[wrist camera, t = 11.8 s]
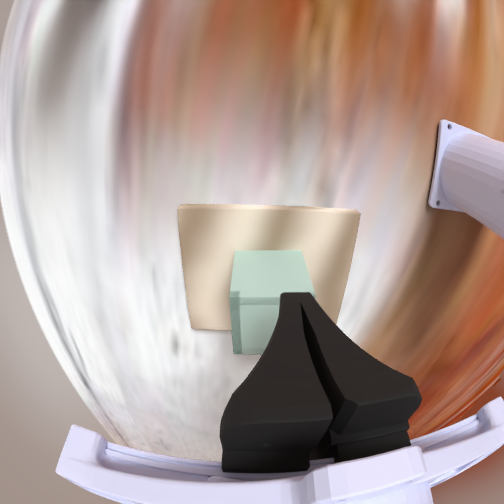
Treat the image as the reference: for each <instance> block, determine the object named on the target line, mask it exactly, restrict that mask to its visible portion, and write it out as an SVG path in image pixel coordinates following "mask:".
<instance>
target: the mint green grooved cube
mask: <svg viewBox="0 0 504 504" xmlns="http://www.w3.org/2000/svg"><path fill="white" fill-rule="evenodd" d="M283 292H310V293H311V294H312V296H313V297H314V298H315V299H316V295H315V291H314V288H313V285H312V282H311V279H310V275H309V272H308V269H307V266H306V263H305V260H304V257H303V254H302V251H301V250H247V251H235V254H234V262H233V270H232V278H231V286H230V295H229V301H230V315H231V328H232V341H233V353H234V354H263V352H264V351H265V349H266V347H267V345H268V343H269V341H270V338H271V336H272V334H273V331H274V328H275V326H276V323H277V319H278V316H279V305H280V294H281V293H283Z"/></svg>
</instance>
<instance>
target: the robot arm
mask: <svg viewBox="0 0 504 504" xmlns="http://www.w3.org/2000/svg"><path fill="white" fill-rule="evenodd" d="M448 125H449V129H448ZM437 201H438V204H436V203H437ZM428 204H429V206H431V207H432V208H438V209H445V210H452V211H459V212H465V213H467V214H468V215H470V216H471V217H473V218H474V219H476V220H477V221H479V222H480V223H482V224H483V225H485V226H486V227H488V228H489V229H490V230H492V231H493V232H495V233H496V234H497V235H499V236H500V237H501V238H503V239H504V142H500V141H497V140H493V139H491V138H489V137H487V136H484V135H482V134H480V133H478V132H475V131H473V130H471V129H468V128H466V127H463V126H461V125H458V124H455V123H453V122H450V121H447V120H441V121H440V123H439V133H438V143H437V151H436V159H435V166H434V173H433V179H432V185H431V190H430V195H429V200H428ZM421 401H422V397H421V395H420V392H419V390H418V387H417V385H416V383H415V381H414V380H413V378H411V377H409V376H407V375H404V374H402V373H400V372H398V371H396V370H394V369H392V368H390V367H388V366H387V365H385V364H383V363H382V362H380V361H378V360H377V359H375V358H374V357H372V356H371V355H370V354H368V353H367V352H365V351H364V350H363V349H361V348H360V347H359V346H358V345H356V344H355V343H354V342H353V341H352V340H351V339H349V338H348V337H347V336H346V335H345V334H344V333H343V332H342V331H341V330H340V329H339V328H338V326H337V325H336V324H335V323H334V322H333V321H332V320H331V318H330V317H329V316H328V315H327V314H326V313H325V311H324V310H323V309H322V307H321V306H320V305H319V304H318V302H317V301H316V300H315V298H314V297H313V296H312V294H311V293H310V292H283V293H281V294H280V305H279V316H278V319H277V323H276V326H275V328H274V331H273V334H272V336H271V338H270V341H269V343H268V345H267V347H266V349H265V351H264V352H263V354H262V356H261V358H260V359H259V361H258V362H257V364H256V366H255V367H254V368H253V370H252V371H251V372H250V374H249V375H248V377H247V378H246V379H245V380H244V382H243V383H242V384H241V385H240V386H239V387H238V388H237V389H236V390H235V392H234V393H233V394H232V396H231V398H230V400H229V402H228V404H227V406H226V408H225V411H224V413H223V416H222V419H221V424H220V440H221V444H222V448H223V453H222V462H215V461H204V460H194V459H186V458H179V457H173V456H167V455H161V454H156V453H151V452H146V451H142V450H137V449H133V448H129V447H125V446H121V445H118V444H114V443H110V442H107V440H106V439H105V438H104V437H103V436H102V435H101V434H99V433H97V432H95V431H92V430H89V429H86V428H83V427H81V426H78V425H75V424H73V425H72V426H71V428H70V432H69V434H68V436H67V439H66V442H65V444H64V447H63V450H62V453H61V456H60V459H59V461H58V464H57V467H56V473H57V474H59V475H60V476H62V477H64V478H65V479H67V480H69V481H71V482H72V483H74V484H76V485H78V486H80V487H81V488H83V489H85V490H87V491H90V492H92V493H95V494H97V495H100V496H103V497H105V498H108V499H111V500H114V501H117V502H120V503H123V504H433V499H432V495H431V491H430V488H431V487H433V486H435V485H438V484H440V483H442V482H444V481H446V480H448V479H450V478H451V477H453V476H455V475H457V474H459V473H461V472H462V471H464V470H466V469H468V468H469V467H471V466H473V465H474V464H476V463H478V462H480V461H481V460H483V459H484V458H486V457H487V456H489V455H490V454H492V453H493V452H494V451H495V450H497V449H498V448H499V447H501V446H502V445H503V444H504V401H503V400H502V398H501V397H498V398H496V399H494V400H492V401H490V402H489V403H487V404H486V405H484V406H483V407H482V408H481V409H480V410H479V411H478V413H477V414H475V415H473V416H471V417H469V418H467V419H465V420H462V421H460V422H458V423H456V424H453V425H451V426H448V427H446V428H443V429H441V430H438V431H436V432H433V433H430V434H427V435H424V436H422V437H419V438H415V439H412V440H410V439H409V436H408V433H407V430H408V429H409V423H408V419H409V418H410V417H411V416H412V414H413V413H414V412H415V411H416V410H417V408H418V407H419V406H420V404H421Z"/></svg>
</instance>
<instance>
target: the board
mask: <svg viewBox="0 0 504 504" xmlns="http://www.w3.org/2000/svg"><path fill="white" fill-rule="evenodd" d="M177 213H178V224H179V235H180V245H181V254H182V263H183V272H184V280H185V287H186V295H187V302H188V308H189V315H190V321H191V328H194V329H212V330H232V328H231V315H230V301H229V295H230V286H231V278H232V270H233V262H234V254H235V251H247V250H301V251H302V254H303V257H304V260H305V263H306V266H307V269H308V272H309V275H310V279H311V282H312V285H313V288H314V291H315V295H316V299H315V300H316V301H317V302H318V304H319V305H320V306H321V307H322V309H323V310H324V311H325V313H326V314H327V315H328V316H329V317H330V318H331V320H332V321H333V322H334V323H335V324H336V323H337V319H338V315H339V312H340V308H341V304H342V300H343V296H344V292H345V288H346V284H347V280H348V275H349V271H350V267H351V262H352V257H353V252H354V247H355V242H356V237H357V232H358V226H359V221H360V215H361V214H360V213H359V212H358V211H357V210H354V209H339V208H322V207H302V206H275V205H227V204H186V205H180V206H179V207H178V208H177Z"/></svg>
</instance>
